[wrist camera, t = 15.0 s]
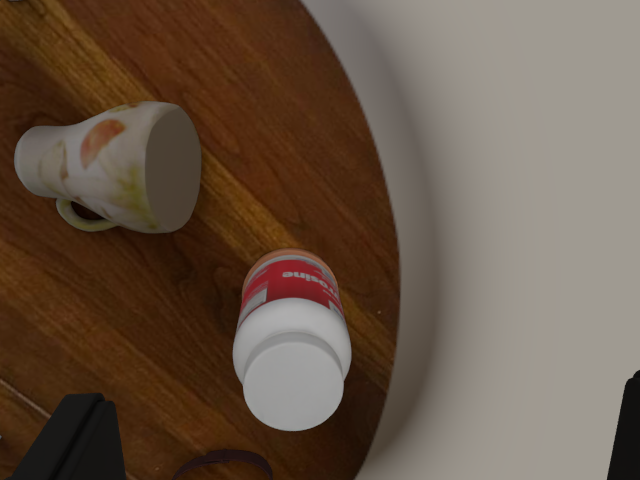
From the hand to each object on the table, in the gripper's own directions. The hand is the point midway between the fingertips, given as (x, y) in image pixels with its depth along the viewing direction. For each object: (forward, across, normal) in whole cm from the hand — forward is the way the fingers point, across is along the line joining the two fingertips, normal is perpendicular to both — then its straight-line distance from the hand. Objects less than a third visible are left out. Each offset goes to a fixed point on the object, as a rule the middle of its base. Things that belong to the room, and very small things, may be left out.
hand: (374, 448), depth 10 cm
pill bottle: (+25, +2, +8) cm, 26 cm away
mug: (+25, +12, -1) cm, 28 cm away
